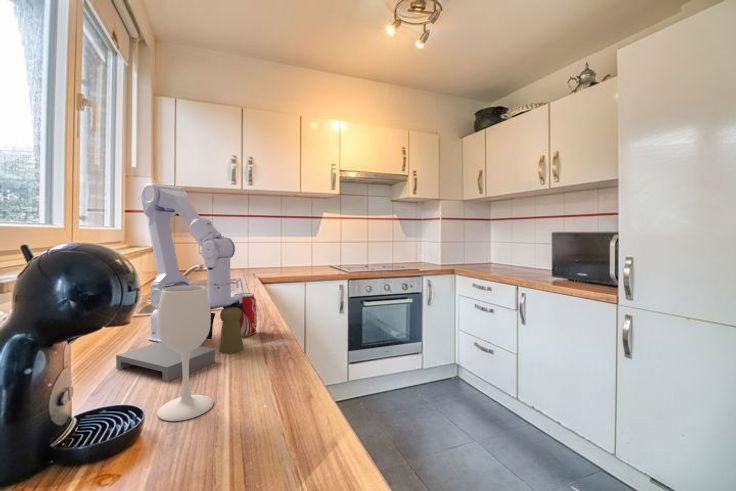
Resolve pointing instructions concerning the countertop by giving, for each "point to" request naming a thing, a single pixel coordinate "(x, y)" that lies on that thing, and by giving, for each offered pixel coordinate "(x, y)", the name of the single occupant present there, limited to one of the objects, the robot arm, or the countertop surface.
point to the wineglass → (184, 343)
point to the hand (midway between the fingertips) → (219, 334)
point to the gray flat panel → (165, 359)
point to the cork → (230, 331)
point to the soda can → (248, 314)
